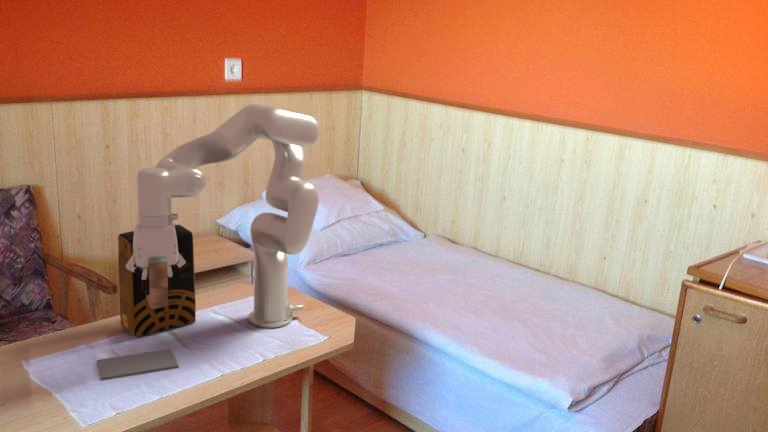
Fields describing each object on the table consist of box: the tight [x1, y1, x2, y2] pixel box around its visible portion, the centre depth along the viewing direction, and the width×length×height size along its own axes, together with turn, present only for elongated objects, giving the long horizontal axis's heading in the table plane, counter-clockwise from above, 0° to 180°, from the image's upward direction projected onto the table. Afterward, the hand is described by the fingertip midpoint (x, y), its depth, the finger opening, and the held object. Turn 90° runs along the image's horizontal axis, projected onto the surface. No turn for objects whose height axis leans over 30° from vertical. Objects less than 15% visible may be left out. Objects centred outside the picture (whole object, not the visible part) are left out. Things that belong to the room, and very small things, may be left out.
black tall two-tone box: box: [117, 224, 197, 338], centre depth 199 cm, size 11×19×28 cm, turn 130°
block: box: [146, 258, 168, 308], centre depth 177 cm, size 4×7×12 cm, turn 27°
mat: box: [96, 347, 180, 381], centre depth 180 cm, size 18×10×1 cm, turn 116°
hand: (156, 291), depth 177 cm, fingers closed on block, 4 cm apart
